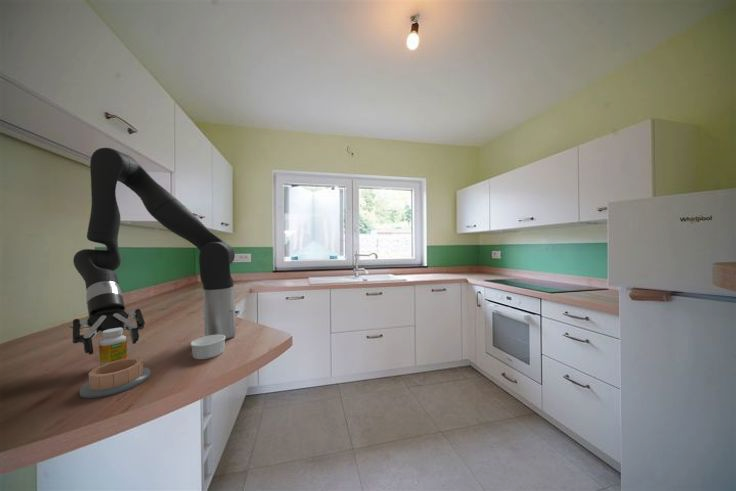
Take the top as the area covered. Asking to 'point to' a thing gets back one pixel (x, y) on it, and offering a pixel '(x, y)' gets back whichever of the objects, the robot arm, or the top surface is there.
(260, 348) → the top surface
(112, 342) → the supplement bottle
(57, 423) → the top surface
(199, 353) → the ramekin
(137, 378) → the holder
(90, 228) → the robot arm
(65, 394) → the top surface
